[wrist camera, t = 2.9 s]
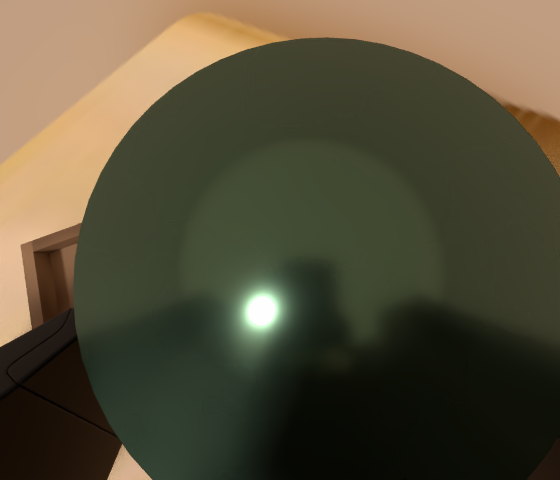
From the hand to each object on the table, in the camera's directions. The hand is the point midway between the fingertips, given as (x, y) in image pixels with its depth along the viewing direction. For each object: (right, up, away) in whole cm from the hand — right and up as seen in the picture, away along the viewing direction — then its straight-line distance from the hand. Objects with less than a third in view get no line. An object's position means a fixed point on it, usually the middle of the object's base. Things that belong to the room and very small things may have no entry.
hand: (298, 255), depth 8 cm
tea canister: (0, -2, +7) cm, 7 cm away
